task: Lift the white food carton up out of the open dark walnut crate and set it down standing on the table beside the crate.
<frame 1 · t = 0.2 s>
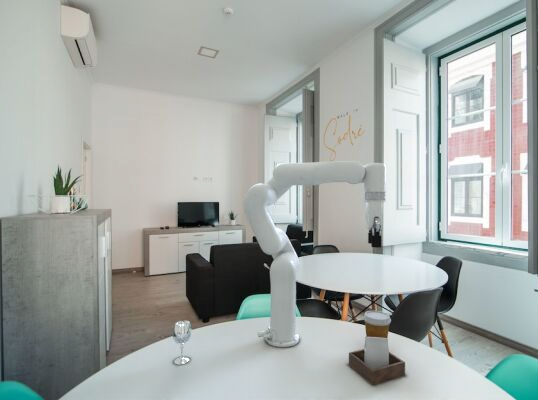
hand: (374, 245, 106), 37 cm above the table, tool pointing down, fingers open, 9 cm apart
white food carton: (376, 370, 92), resting in crate
wineglass: (181, 361, 95), on the table
crate: (376, 370, 92), on the table
disposable coffee cup: (376, 349, 106), on the table
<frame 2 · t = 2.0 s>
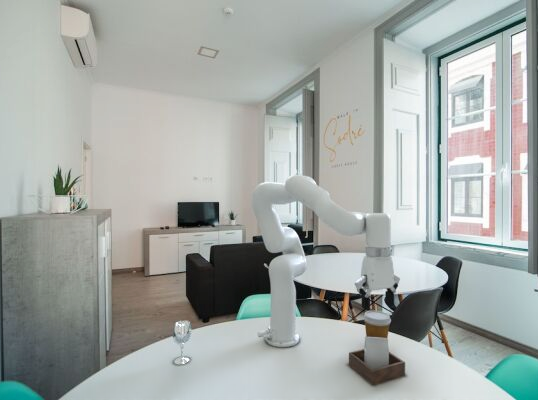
hand: (378, 306, 93), 19 cm above the table, tool pointing down, fingers open, 9 cm apart
nothing on the table moved.
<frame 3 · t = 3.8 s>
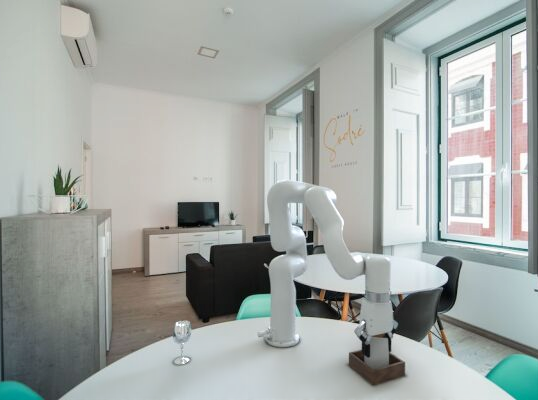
hand: (376, 352, 92), 6 cm above the table, tool pointing down, fingers closed on white food carton, 7 cm apart
white food carton: (376, 370, 92), resting in crate, touching gripper
everything else where it was.
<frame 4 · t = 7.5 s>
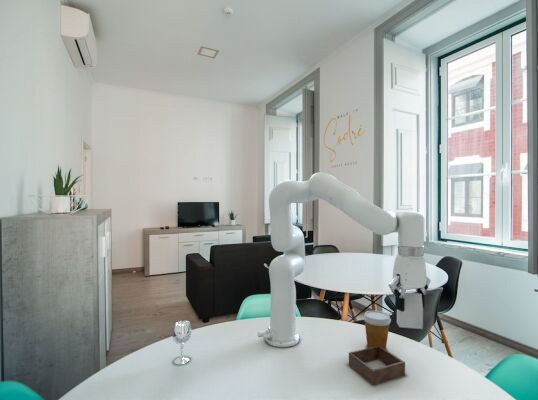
hand: (409, 307, 92), 20 cm above the table, tool pointing down, fingers closed on white food carton, 7 cm apart
white food carton: (409, 326, 92), point 14 cm above the table, touching gripper
everything else where it was.
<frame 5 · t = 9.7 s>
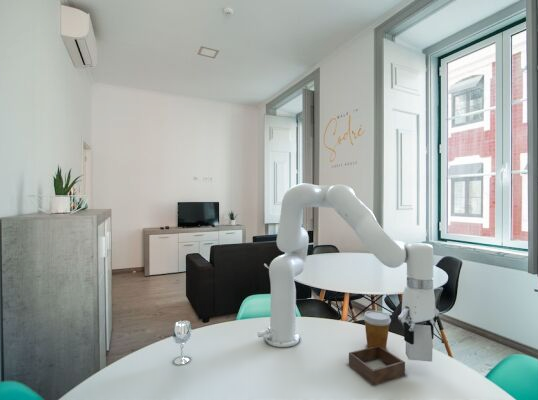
hand: (418, 339, 92), 10 cm above the table, tool pointing down, fingers closed on white food carton, 7 cm apart
white food carton: (418, 358, 92), point 4 cm above the table, touching gripper
everything else where it was.
when the fingers open (6 cm above the table, at t = 11.5 s): white food carton stays where it is, on the table.
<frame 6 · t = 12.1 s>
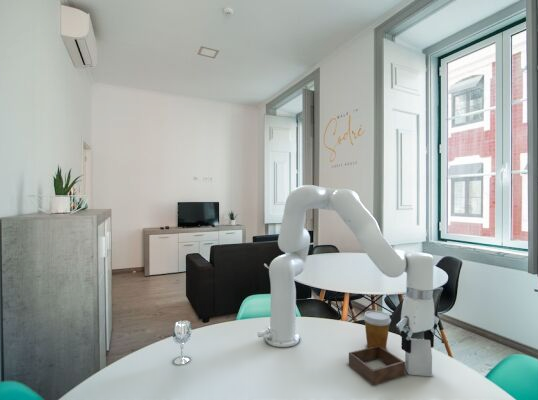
hand: (417, 348, 92), 7 cm above the table, tool pointing down, fingers open, 9 cm apart
white food carton: (418, 372, 92), on the table
everything else where it was.
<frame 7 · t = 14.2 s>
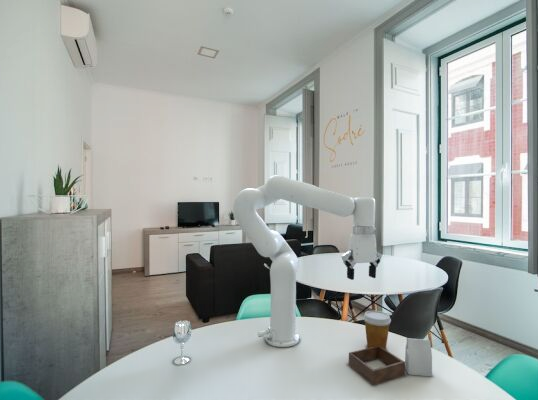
hand: (361, 278, 108), 25 cm above the table, tool pointing down, fingers open, 9 cm apart
nothing on the table moved.
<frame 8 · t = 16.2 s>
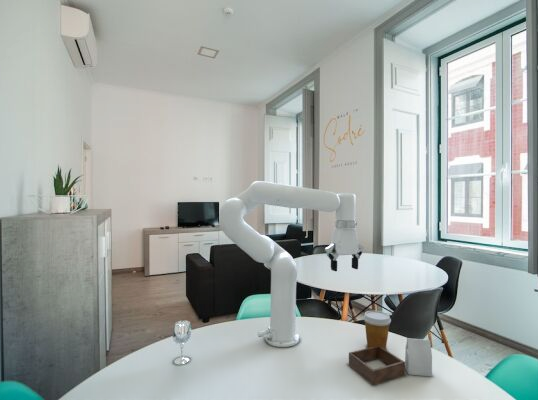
hand: (344, 269, 114), 26 cm above the table, tool pointing down, fingers open, 9 cm apart
nothing on the table moved.
at the end: white food carton inside the target area (0.1 cm from its centre), on the table; white food carton touching table; the gripper is holding nothing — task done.
